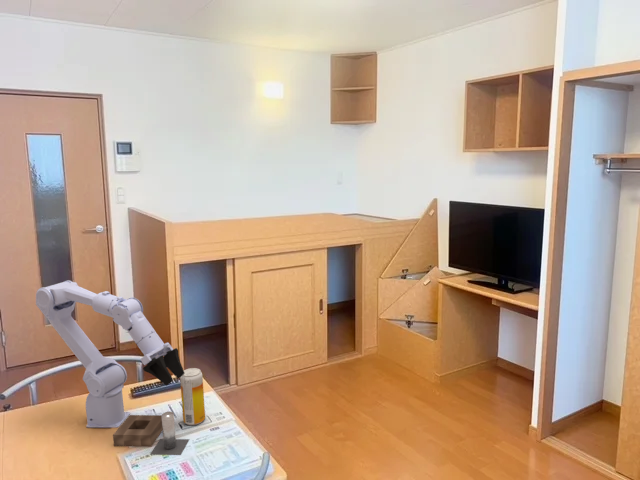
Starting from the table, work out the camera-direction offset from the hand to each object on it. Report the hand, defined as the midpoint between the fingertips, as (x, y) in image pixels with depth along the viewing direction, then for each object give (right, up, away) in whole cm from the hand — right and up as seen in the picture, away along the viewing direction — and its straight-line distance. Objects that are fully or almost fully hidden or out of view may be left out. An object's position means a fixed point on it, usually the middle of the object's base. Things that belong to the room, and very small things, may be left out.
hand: (175, 379), depth 131 cm
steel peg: (-1, -17, -3) cm, 17 cm away
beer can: (+3, -15, +10) cm, 18 cm away
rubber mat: (-1, -17, -3) cm, 17 cm away
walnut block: (-10, -16, +3) cm, 19 cm away
